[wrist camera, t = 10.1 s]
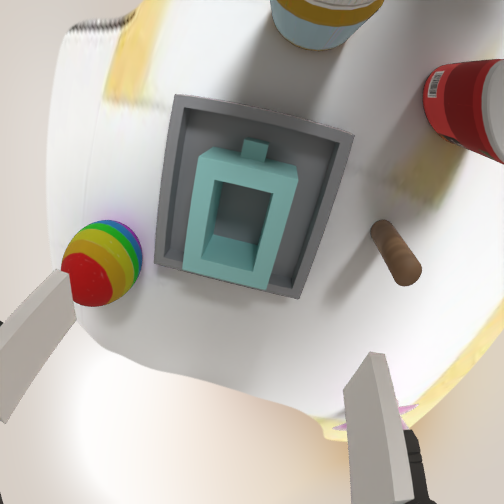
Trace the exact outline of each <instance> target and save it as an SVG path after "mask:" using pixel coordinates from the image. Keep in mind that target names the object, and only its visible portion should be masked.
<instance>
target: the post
mask: <svg viewBox="0 0 504 504" xmlns="http://www.w3.org/2000/svg"><path fill="white" fill-rule="evenodd" d="M371 237H372V239H373V240H374V242H375V244H376V246H377V248H378V250H379V251H380V253H381V255H382V257H383V259H384V261H385V263H386V265H387V266H388V268H389V270H390V272H391V274H392V276H393V278H394V280H395V282H396V283H397V284H398V285H400V286H409V285H412V284H413V283H415V282H416V281H417V280H418V279H419V277H420V275H421V273H422V267H421V264H420V263H419V261H418V260H417V258H416V257H415V255H414V254H413V253H412V251H411V250H410V248H409V247H408V246H407V244H406V243H405V241H404V240H403V239H402V237H401V236H400V235H399V233H398V232H397V230H396V229H395V228H394V226H393V225H392V224H391V223H390V222H389V221H387V220H379V221H377V222H376V223H374V225H373V226H372V228H371Z"/></svg>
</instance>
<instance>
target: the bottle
mask: <svg viewBox="0 0 504 504" xmlns="http://www.w3.org/2000/svg"><path fill="white" fill-rule="evenodd" d="M383 2H384V0H270V4H271V10H272V16H273V20H274V23H275V26H276V28H277V30H278V31H279V32H280V33H281V35H282V36H283V37H284V38H285V39H286V40H288V41H289V42H290V43H292V44H293V45H295V46H298V47H301V48H303V49H307V50H314V51H322V50H329V49H332V48H335V47H337V46H339V45H341V44H342V43H343V42H345V41H346V40H347V39H348V38H349V37H350V36H351V35H352V34H353V33H354V32H355V31H356V30H357V29H358V28H359V27H361V26H362V25H363V24H364V23H365V22H366V21H367V20H368V19H369V18H370V17H371V16H372V15H373V14H374V13H375V12H377V11H378V9H379V8H380V7H381V6H382V4H383Z"/></svg>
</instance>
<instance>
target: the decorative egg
mask: <svg viewBox="0 0 504 504" xmlns="http://www.w3.org/2000/svg"><path fill="white" fill-rule="evenodd" d="M141 266H142V249H141V245H140V242H139V240H138V238H137V236H136V235H135V233H134V232H133V231H132V230H131V229H130V228H129V227H127V226H126V225H124V224H122V223H120V222H117V221H112V220H102V221H97V222H94V223H92V224H89V225H88V226H86V227H84V228H83V229H82V230H80V231H79V232H78V233H77V234H76V235H75V236H74V238H73V239H72V240H71V242H70V243H69V245H68V247H67V249H66V251H65V253H64V256H63V259H62V264H61V271H63V272H65V273H68V274H69V278H70V285H71V292H72V298H73V301H74V302H76V303H78V304H80V305H83V306H90V307H96V306H103V305H106V304H109V303H111V302H114V301H115V300H117V299H119V298H120V297H122V296H123V295H124V294H125V293H126V292H128V290H129V289H130V288H131V287H132V286H133V284H134V283H135V281H136V280H137V278H138V276H139V273H140V270H141Z"/></svg>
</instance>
